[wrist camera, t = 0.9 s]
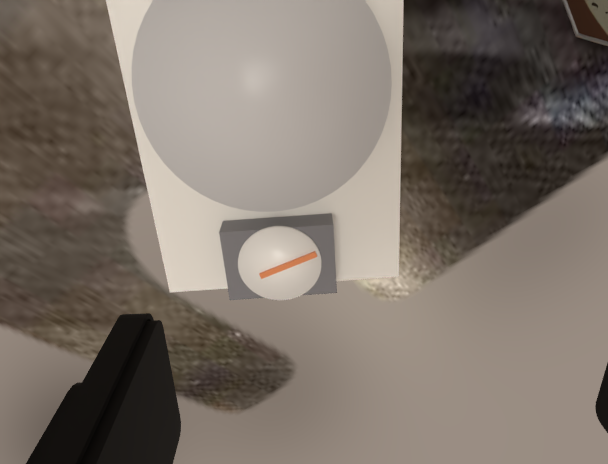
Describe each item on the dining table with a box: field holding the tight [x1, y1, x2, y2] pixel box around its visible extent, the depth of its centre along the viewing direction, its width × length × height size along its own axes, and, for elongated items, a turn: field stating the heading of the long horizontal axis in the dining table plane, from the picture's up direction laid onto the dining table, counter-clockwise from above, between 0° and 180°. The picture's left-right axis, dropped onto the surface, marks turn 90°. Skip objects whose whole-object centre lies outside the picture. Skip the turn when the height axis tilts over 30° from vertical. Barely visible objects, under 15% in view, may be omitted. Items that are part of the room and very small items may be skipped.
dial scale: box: [106, 0, 404, 300], centre depth 34 cm, size 24×18×5 cm
